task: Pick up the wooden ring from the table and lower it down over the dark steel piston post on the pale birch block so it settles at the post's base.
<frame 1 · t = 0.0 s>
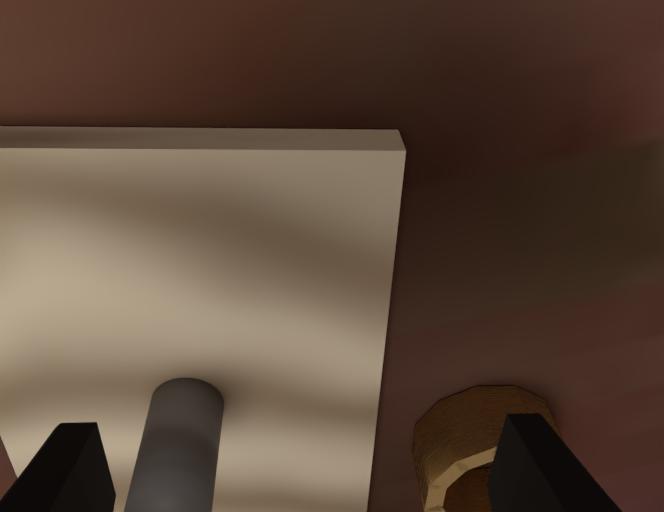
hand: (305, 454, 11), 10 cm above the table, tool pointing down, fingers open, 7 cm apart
wooden ring: (482, 435, 27), on the table
piston block: (193, 373, 24), on the table
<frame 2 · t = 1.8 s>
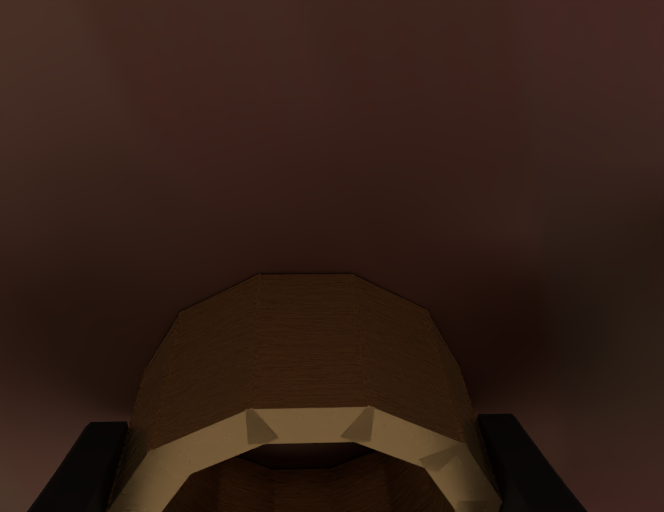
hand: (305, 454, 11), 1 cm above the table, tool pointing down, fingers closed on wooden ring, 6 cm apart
wooden ring: (303, 396, 12), on the table, touching gripper
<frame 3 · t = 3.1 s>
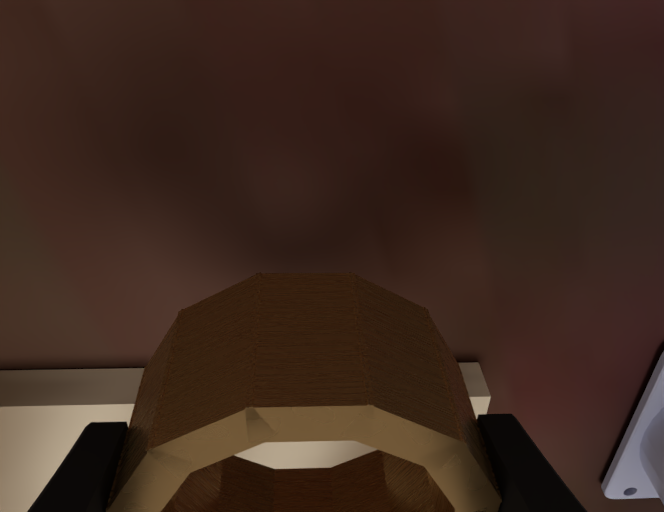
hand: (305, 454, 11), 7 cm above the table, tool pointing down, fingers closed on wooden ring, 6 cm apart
wooden ring: (303, 395, 12), point 6 cm above the table, touching gripper
piston block: (191, 499, 24), on the table
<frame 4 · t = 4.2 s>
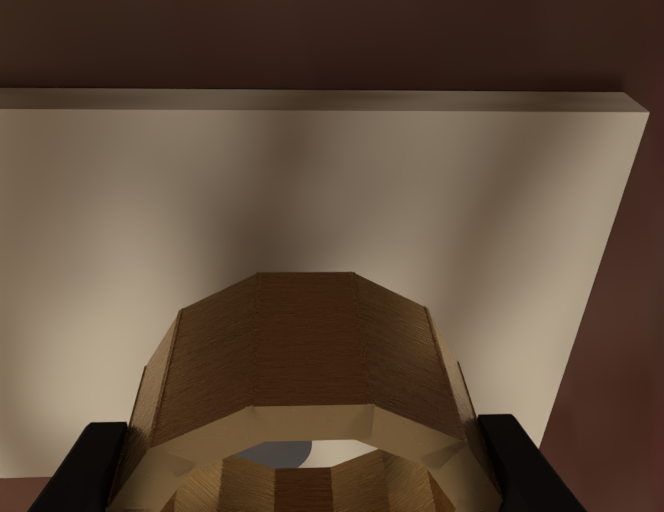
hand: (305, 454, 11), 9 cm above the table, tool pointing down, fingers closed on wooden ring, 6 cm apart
wooden ring: (303, 394, 12), point 8 cm above the table, touching gripper
piston block: (267, 297, 20), on the table
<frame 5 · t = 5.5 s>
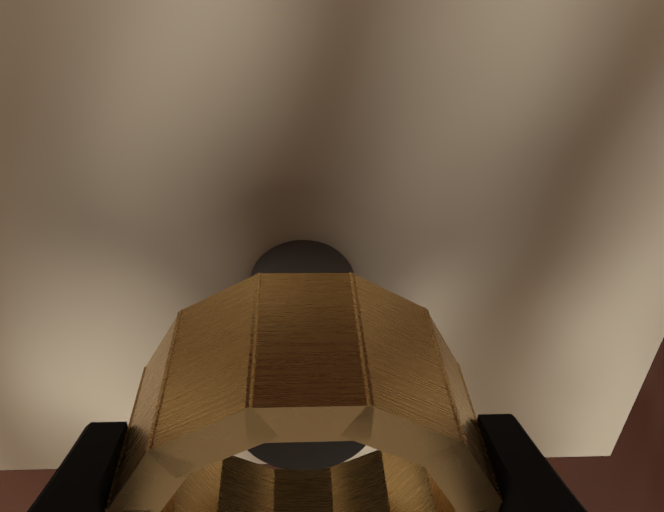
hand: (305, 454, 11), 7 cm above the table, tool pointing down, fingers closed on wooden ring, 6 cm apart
wooden ring: (303, 395, 12), point 5 cm above the table, touching gripper
piston block: (301, 250, 17), on the table
when the fingers open (4 cm above the table, at t = 6.6 s): wooden ring drops 1 cm, resting on piston block.
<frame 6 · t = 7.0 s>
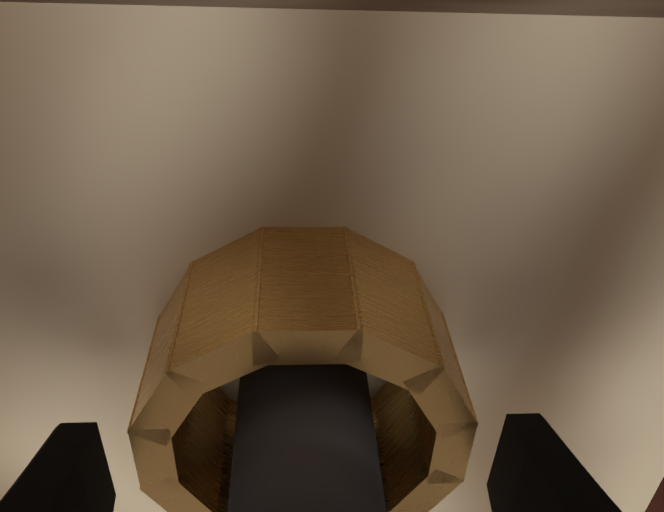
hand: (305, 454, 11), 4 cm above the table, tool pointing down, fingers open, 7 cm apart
wooden ring: (302, 343, 14), point 1 cm above the table, touching piston block
piston block: (301, 302, 15), on the table
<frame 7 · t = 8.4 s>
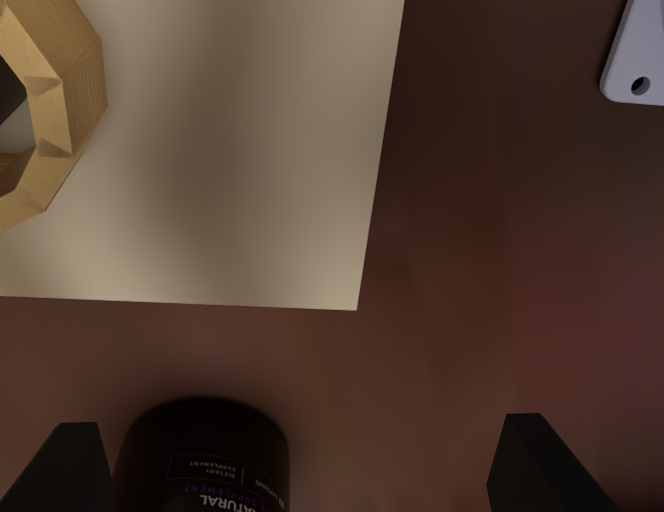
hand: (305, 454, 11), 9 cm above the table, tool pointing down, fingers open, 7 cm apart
supplement bottle: (206, 448, 25), on the table
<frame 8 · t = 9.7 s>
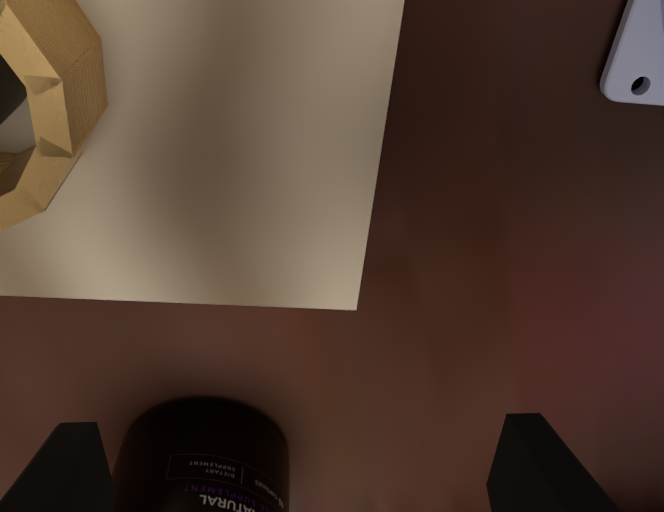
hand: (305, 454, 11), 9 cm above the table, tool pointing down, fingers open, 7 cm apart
supplement bottle: (206, 447, 25), on the table
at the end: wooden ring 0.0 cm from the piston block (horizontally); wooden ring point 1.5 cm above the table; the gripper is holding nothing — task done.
